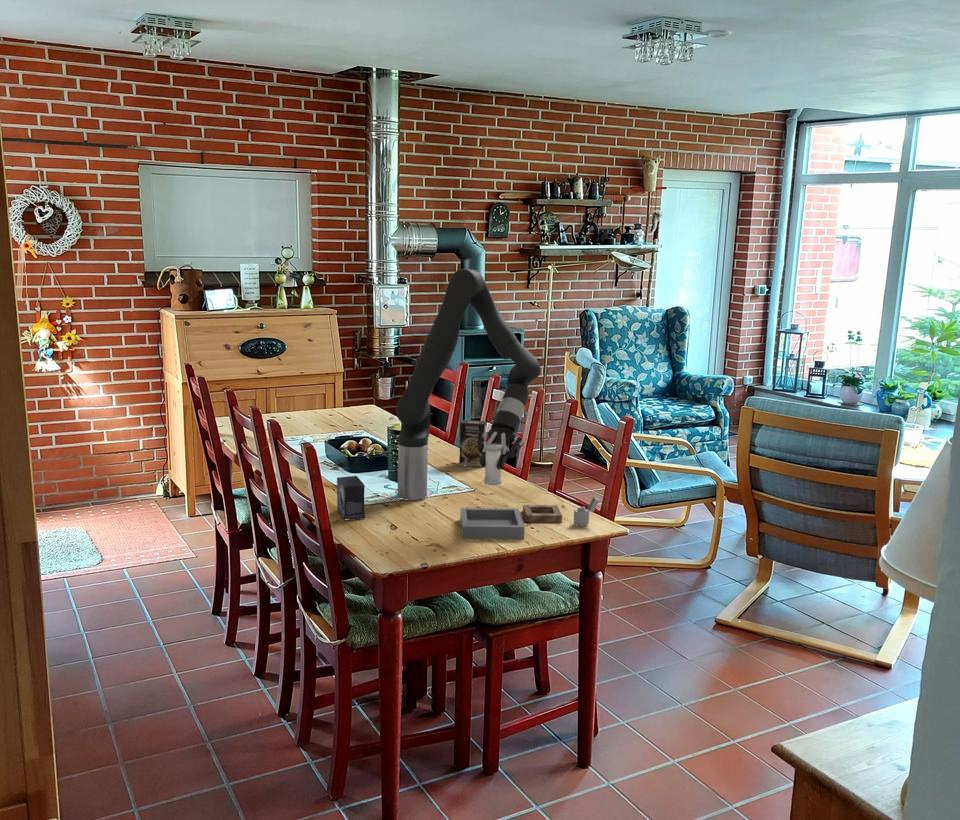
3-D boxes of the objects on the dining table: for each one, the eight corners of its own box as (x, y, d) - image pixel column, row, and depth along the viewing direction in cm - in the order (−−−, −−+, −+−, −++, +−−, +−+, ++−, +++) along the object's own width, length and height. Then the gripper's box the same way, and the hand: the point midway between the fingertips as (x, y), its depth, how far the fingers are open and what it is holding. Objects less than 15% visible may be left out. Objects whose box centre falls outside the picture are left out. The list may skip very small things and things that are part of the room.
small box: (335, 510, 266) (335, 476, 264) (357, 508, 268) (357, 475, 266) (343, 521, 256) (343, 486, 254) (365, 519, 259) (365, 484, 257)
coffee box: (458, 466, 321) (459, 422, 318) (461, 462, 327) (462, 419, 324) (483, 467, 320) (484, 423, 317) (485, 463, 326) (486, 420, 323)
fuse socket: (526, 521, 260) (526, 515, 259) (522, 511, 270) (523, 504, 269) (561, 522, 260) (562, 515, 260) (556, 511, 270) (557, 505, 270)
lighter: (575, 525, 257) (576, 499, 256) (573, 524, 259) (574, 497, 257) (598, 524, 259) (599, 498, 258) (595, 522, 261) (597, 496, 259)
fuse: (484, 485, 247) (485, 446, 245) (483, 480, 252) (484, 442, 250) (501, 485, 248) (502, 446, 245) (500, 480, 252) (501, 442, 250)
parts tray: (462, 538, 244) (462, 526, 243) (460, 519, 260) (460, 508, 260) (524, 539, 245) (524, 527, 244) (518, 519, 261) (518, 508, 261)
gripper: (482, 407, 256) (463, 456, 247) (528, 412, 250) (510, 463, 241) (489, 421, 261) (471, 470, 253) (534, 427, 256) (517, 477, 247)
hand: (490, 466), depth 247 cm, fingers closed on fuse, 4 cm apart
